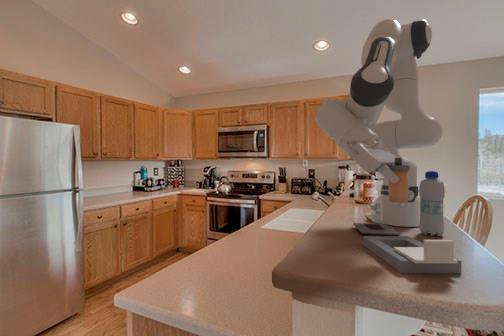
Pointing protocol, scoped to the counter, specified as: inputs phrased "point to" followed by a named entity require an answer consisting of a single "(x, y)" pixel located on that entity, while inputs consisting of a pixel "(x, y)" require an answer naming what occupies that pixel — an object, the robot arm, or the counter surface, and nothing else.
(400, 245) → the socket block
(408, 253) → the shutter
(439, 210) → the bottle
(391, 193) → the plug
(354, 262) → the counter surface
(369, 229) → the electrical outlet
